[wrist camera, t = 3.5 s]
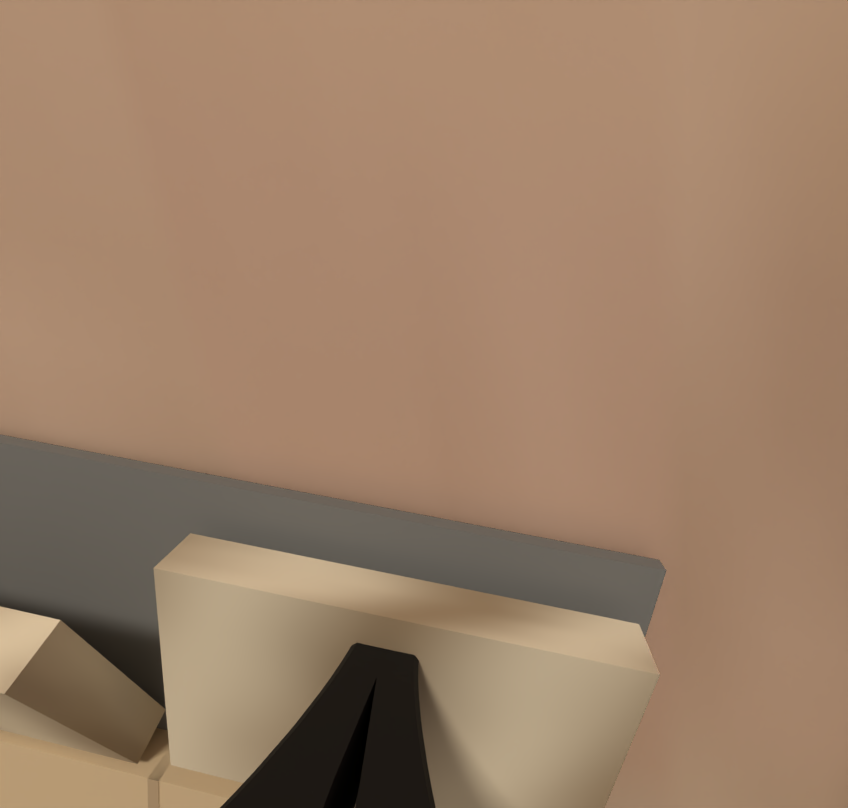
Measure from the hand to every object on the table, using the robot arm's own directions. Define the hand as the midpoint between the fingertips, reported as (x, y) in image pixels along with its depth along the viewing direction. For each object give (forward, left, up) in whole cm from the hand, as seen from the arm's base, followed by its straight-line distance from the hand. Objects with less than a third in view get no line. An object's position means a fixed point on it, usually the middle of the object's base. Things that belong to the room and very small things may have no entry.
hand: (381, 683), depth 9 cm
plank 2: (0, +1, -1) cm, 2 cm away
